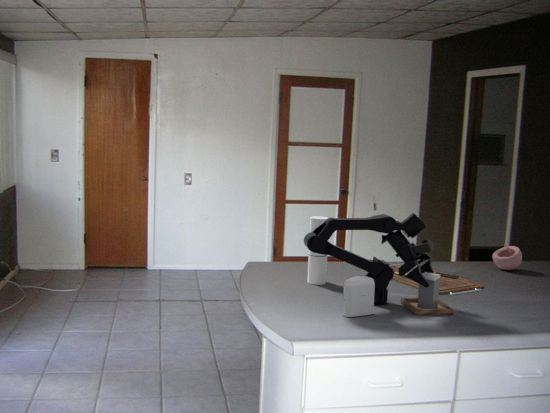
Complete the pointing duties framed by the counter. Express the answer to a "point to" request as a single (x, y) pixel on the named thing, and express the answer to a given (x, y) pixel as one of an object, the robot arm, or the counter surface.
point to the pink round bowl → (507, 257)
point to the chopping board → (441, 282)
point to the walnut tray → (440, 310)
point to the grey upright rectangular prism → (429, 292)
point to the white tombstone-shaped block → (358, 296)
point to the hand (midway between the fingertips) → (432, 284)
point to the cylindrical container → (316, 258)
